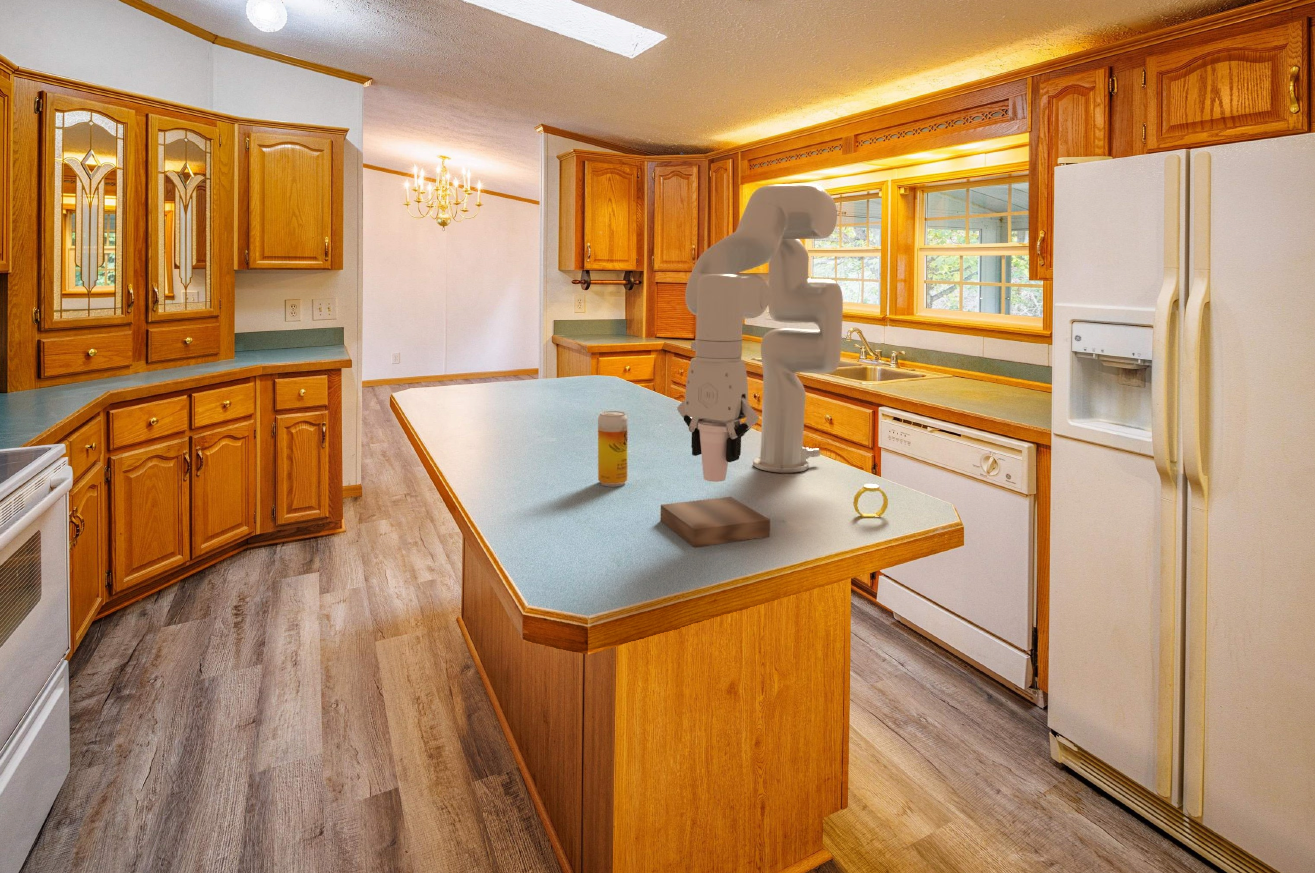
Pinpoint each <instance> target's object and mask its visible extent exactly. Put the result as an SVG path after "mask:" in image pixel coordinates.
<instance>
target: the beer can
mask: <svg viewBox="0 0 1315 873" xmlns="http://www.w3.org/2000/svg"><path fill="white" fill-rule="evenodd" d="M597 458H598V459H597V461H598V462H597V463H598V464H597V466H598V467H597V468H598V469H597V470H598V472H597V474H598V477H597V478H598V481H599V482H600V485H602V486H604V487H610V488H611V487H613V488H614V487H621V486H624V485H625V484H626V482H627V481H628V416H627V414H626V412H624V411H619V410H606V411H605V410H604V411H601V412H599V415H598V418H597Z"/></svg>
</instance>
